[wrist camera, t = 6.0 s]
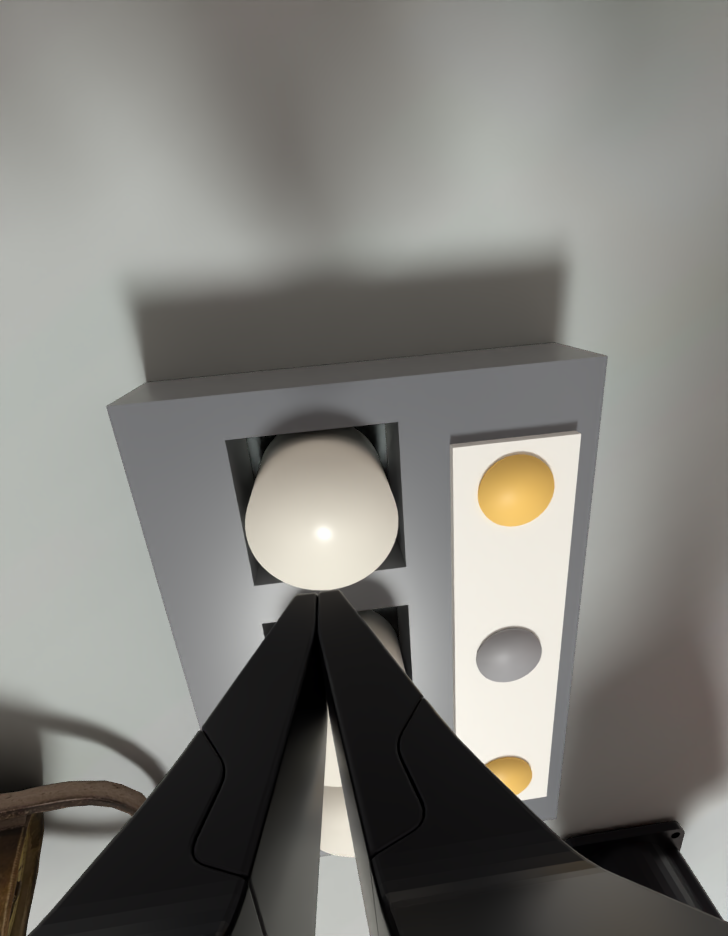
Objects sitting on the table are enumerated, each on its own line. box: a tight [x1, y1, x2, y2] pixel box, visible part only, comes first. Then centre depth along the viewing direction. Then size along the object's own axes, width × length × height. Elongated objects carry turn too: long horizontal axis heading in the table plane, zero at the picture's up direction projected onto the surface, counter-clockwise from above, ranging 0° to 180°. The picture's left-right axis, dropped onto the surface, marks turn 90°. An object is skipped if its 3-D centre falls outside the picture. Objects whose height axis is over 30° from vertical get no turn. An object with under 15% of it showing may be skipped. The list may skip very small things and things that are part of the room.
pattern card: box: [450, 431, 581, 800], centre depth 16 cm, size 4×15×1 cm, turn 5°
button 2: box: [245, 427, 398, 590], centre depth 14 cm, size 4×4×3 cm
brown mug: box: [0, 781, 146, 936], centre depth 18 cm, size 7×13×10 cm
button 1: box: [320, 786, 355, 857], centre depth 18 cm, size 4×4×3 cm
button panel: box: [106, 342, 608, 857], centre depth 17 cm, size 13×19×3 cm
